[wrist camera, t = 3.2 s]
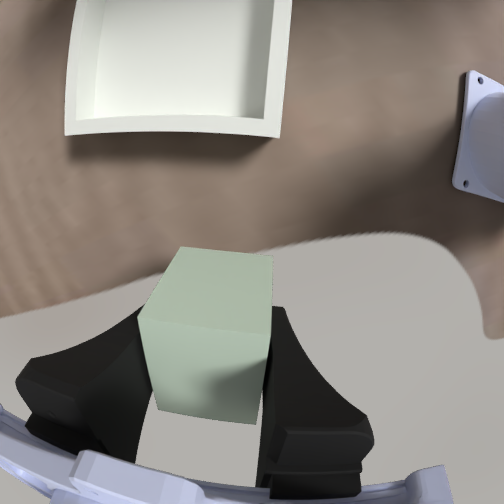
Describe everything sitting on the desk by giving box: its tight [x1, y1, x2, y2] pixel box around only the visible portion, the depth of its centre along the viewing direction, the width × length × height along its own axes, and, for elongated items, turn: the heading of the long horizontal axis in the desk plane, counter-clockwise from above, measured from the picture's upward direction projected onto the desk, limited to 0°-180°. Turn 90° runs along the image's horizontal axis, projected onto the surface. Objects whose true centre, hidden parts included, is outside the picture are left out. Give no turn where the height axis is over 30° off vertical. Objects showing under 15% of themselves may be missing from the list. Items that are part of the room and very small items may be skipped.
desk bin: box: [65, 0, 292, 138], centre depth 12 cm, size 12×14×3 cm
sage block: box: [137, 247, 273, 425], centre depth 12 cm, size 4×5×5 cm
